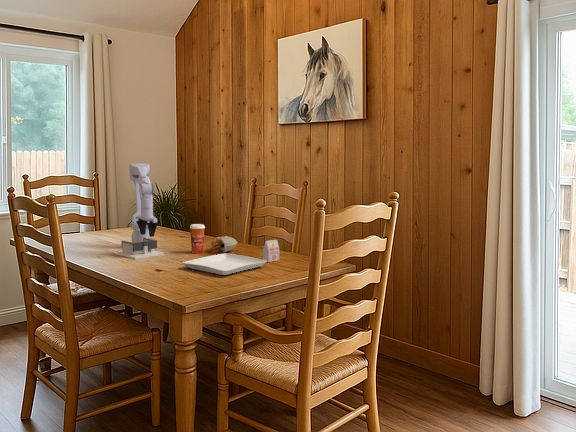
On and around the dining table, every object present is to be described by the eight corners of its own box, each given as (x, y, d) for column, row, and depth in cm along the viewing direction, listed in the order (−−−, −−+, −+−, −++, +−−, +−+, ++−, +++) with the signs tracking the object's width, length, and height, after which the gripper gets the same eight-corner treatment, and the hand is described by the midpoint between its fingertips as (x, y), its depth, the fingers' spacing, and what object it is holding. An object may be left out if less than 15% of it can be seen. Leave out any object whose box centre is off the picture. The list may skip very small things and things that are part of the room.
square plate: (225, 260, 277) (225, 252, 277) (268, 268, 260) (268, 259, 260) (180, 269, 257) (180, 260, 256) (224, 279, 239) (224, 269, 239)
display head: (117, 254, 286) (116, 242, 285) (145, 250, 298) (145, 238, 297) (135, 259, 275) (135, 246, 275) (163, 254, 287) (163, 242, 286)
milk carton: (263, 261, 273) (263, 240, 272) (274, 259, 277) (274, 239, 276) (268, 262, 270) (268, 241, 269) (279, 261, 275) (279, 240, 273)
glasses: (121, 248, 286) (121, 240, 285) (144, 245, 295) (144, 237, 295) (134, 251, 278) (134, 243, 278) (157, 248, 288) (157, 240, 287)
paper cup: (190, 254, 289) (190, 226, 287) (189, 251, 296) (188, 224, 294) (206, 253, 291) (206, 225, 289) (204, 250, 298) (204, 223, 296)
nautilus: (217, 258, 283) (194, 256, 291) (244, 248, 300) (222, 247, 309) (215, 242, 282) (193, 240, 290) (243, 233, 299) (221, 232, 308)
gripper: (162, 208, 283) (162, 236, 285) (145, 206, 293) (146, 232, 295) (149, 210, 278) (150, 238, 280) (133, 207, 288) (133, 234, 290)
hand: (147, 235), depth 287 cm, fingers open, 7 cm apart
